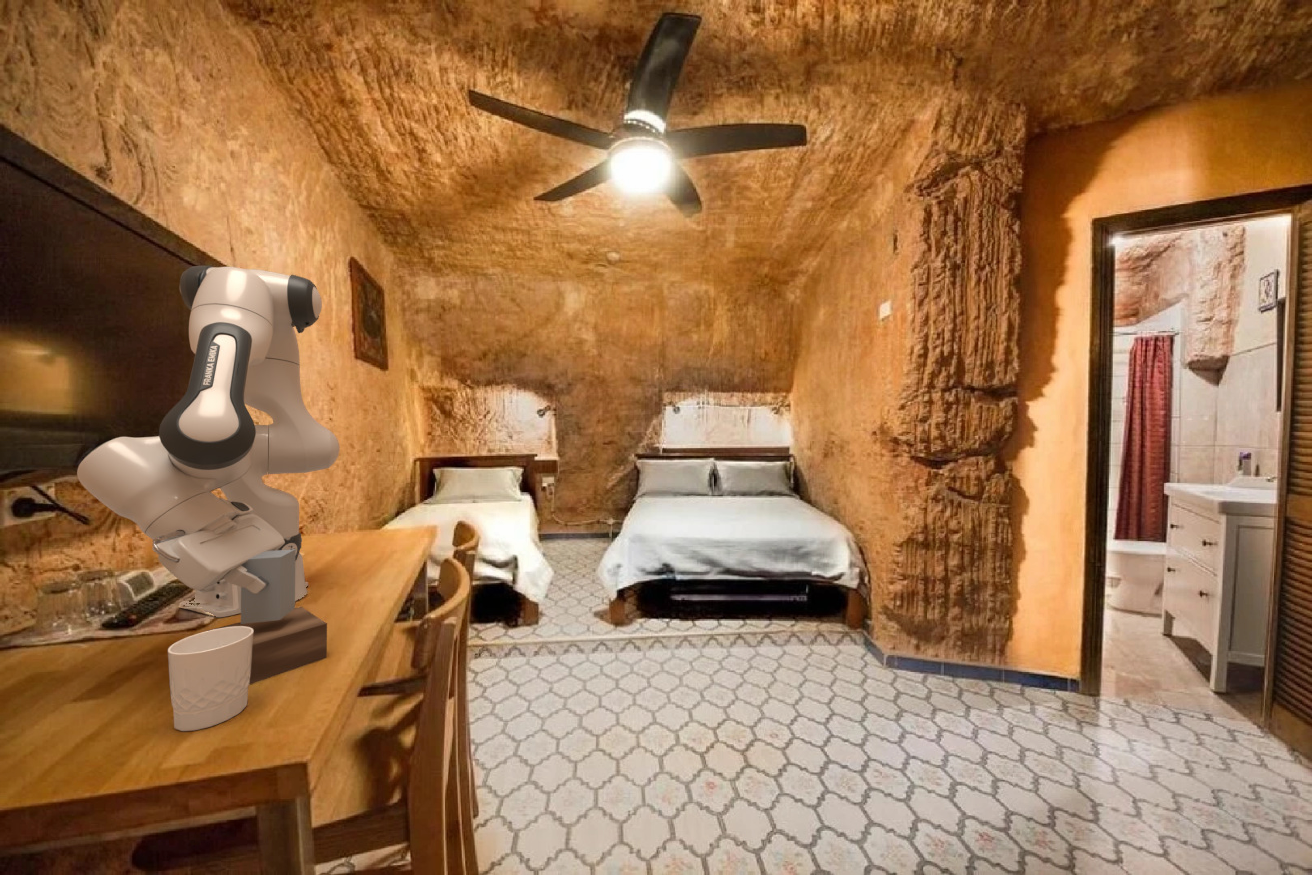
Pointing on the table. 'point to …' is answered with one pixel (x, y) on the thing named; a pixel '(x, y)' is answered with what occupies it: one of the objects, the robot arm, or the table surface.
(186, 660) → the white cup
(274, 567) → the slate block
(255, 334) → the robot arm
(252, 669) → the walnut box
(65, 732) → the table surface
